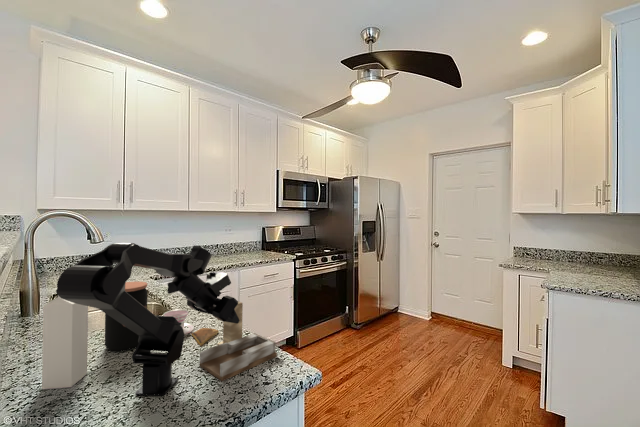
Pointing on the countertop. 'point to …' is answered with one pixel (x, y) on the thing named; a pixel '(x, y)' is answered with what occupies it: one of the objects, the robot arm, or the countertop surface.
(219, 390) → the countertop surface
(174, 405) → the countertop surface
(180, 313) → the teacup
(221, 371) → the grey brown open tray
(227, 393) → the countertop surface
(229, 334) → the beech peg
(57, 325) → the milk
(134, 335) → the coffee jar
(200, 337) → the folded crepe
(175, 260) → the robot arm
